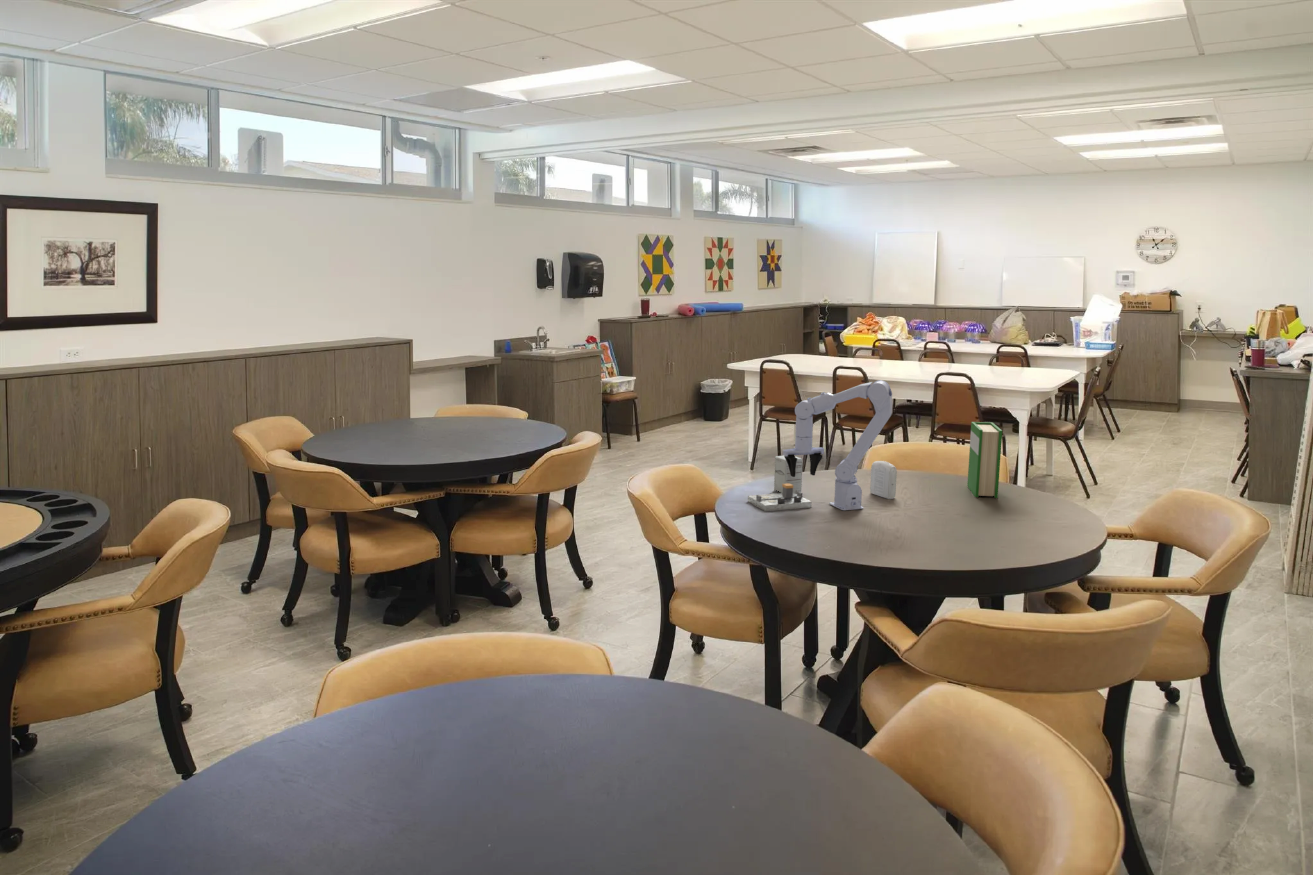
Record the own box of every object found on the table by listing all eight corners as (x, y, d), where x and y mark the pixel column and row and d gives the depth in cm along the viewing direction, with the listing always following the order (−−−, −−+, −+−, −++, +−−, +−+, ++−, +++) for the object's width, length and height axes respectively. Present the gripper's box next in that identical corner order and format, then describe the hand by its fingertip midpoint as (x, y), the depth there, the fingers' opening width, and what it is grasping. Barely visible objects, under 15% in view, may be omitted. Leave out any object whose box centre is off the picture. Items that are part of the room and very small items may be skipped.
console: (811, 507, 312) (811, 496, 311) (765, 511, 307) (765, 500, 306) (792, 497, 325) (792, 487, 324) (747, 501, 320) (748, 491, 319)
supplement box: (773, 490, 336) (774, 456, 334) (790, 488, 339) (791, 454, 337) (784, 494, 329) (785, 459, 327) (802, 492, 332) (803, 458, 330)
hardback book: (997, 498, 325) (1002, 430, 321) (975, 497, 326) (979, 430, 322) (988, 487, 342) (992, 422, 338) (967, 486, 343) (971, 421, 339)
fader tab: (793, 498, 315) (793, 485, 315) (786, 498, 314) (786, 485, 314) (788, 495, 318) (789, 483, 318) (781, 496, 317) (782, 483, 317)
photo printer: (897, 498, 325) (899, 463, 323) (887, 499, 323) (889, 464, 321) (877, 492, 334) (878, 458, 332) (868, 493, 332) (869, 459, 330)
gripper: (817, 433, 320) (816, 471, 323) (779, 435, 316) (778, 474, 318) (827, 436, 314) (826, 476, 316) (788, 438, 309) (787, 478, 312)
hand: (802, 475), depth 317 cm, fingers open, 7 cm apart
